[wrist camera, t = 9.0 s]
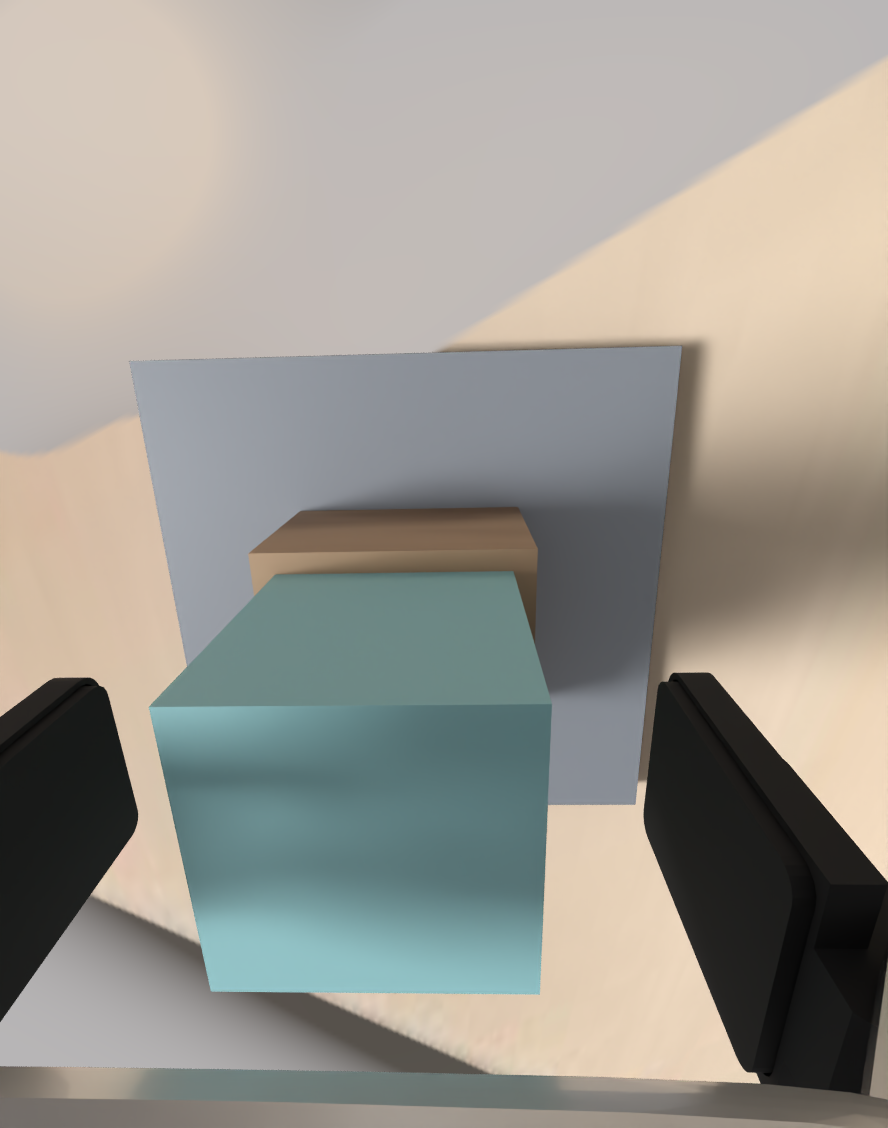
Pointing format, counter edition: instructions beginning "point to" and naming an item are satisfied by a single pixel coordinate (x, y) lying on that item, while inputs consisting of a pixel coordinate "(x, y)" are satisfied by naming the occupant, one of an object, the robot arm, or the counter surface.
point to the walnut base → (402, 545)
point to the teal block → (365, 786)
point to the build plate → (441, 497)
